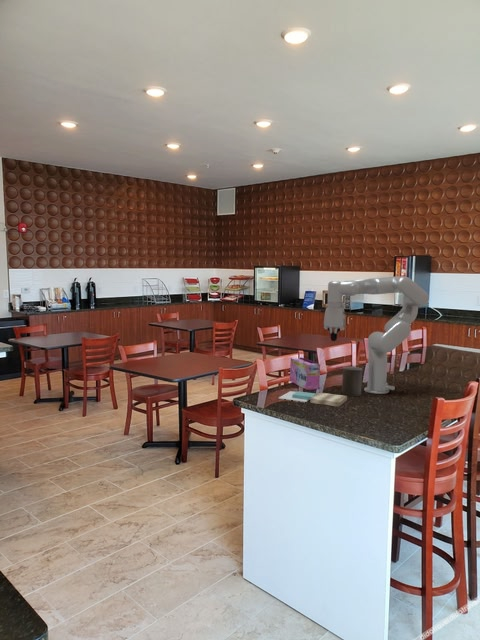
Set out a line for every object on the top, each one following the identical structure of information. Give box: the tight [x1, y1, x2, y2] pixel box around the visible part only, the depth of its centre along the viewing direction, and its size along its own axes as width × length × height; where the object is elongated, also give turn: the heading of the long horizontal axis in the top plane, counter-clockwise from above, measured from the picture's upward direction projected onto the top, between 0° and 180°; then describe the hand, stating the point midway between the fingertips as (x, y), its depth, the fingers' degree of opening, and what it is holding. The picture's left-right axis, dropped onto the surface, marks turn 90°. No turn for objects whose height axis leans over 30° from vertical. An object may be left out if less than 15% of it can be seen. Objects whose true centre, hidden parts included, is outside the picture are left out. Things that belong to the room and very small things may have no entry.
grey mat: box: [278, 390, 310, 403], centre depth 242 cm, size 14×16×1 cm
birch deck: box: [309, 392, 348, 407], centre depth 234 cm, size 14×14×2 cm
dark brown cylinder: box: [341, 365, 363, 397], centre depth 249 cm, size 10×10×15 cm
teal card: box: [292, 391, 317, 401], centre depth 239 cm, size 10×8×2 cm
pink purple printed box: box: [289, 357, 321, 391], centre depth 270 cm, size 24×8×14 cm, turn 18°
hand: (333, 340), depth 251 cm, fingers closed
